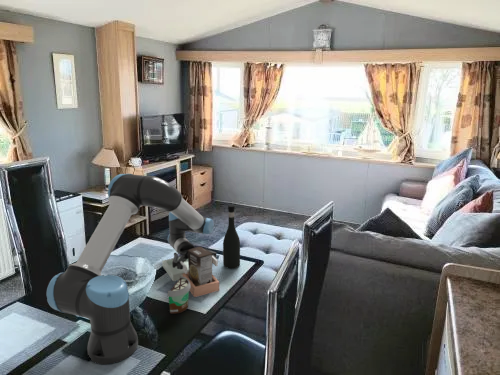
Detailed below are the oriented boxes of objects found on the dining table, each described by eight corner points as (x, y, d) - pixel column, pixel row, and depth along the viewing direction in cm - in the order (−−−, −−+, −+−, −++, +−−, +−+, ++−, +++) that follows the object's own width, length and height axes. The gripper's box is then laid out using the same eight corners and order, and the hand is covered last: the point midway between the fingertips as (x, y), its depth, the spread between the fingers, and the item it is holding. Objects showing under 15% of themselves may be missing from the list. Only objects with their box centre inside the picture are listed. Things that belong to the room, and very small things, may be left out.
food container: (184, 317, 131) (183, 293, 129) (168, 315, 133) (167, 291, 130) (195, 299, 143) (195, 277, 141) (181, 297, 144) (180, 275, 142)
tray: (173, 281, 157) (172, 275, 156) (162, 266, 170) (162, 260, 170) (211, 271, 166) (211, 265, 165) (198, 258, 179) (198, 252, 178)
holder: (194, 297, 145) (194, 288, 144) (182, 281, 157) (182, 273, 156) (219, 290, 150) (219, 281, 149) (206, 276, 162) (206, 267, 161)
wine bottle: (220, 264, 172) (219, 205, 165) (233, 260, 177) (233, 202, 170) (229, 271, 166) (229, 209, 159) (243, 266, 171) (243, 206, 163)
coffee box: (188, 284, 154) (187, 249, 150) (201, 279, 159) (200, 245, 155) (200, 293, 148) (199, 257, 144) (213, 287, 152) (212, 252, 148)
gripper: (209, 250, 175) (228, 268, 157) (158, 261, 163) (173, 282, 145) (209, 236, 173) (228, 252, 155) (157, 246, 161) (172, 265, 143)
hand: (202, 267), depth 150 cm, fingers open, 13 cm apart
